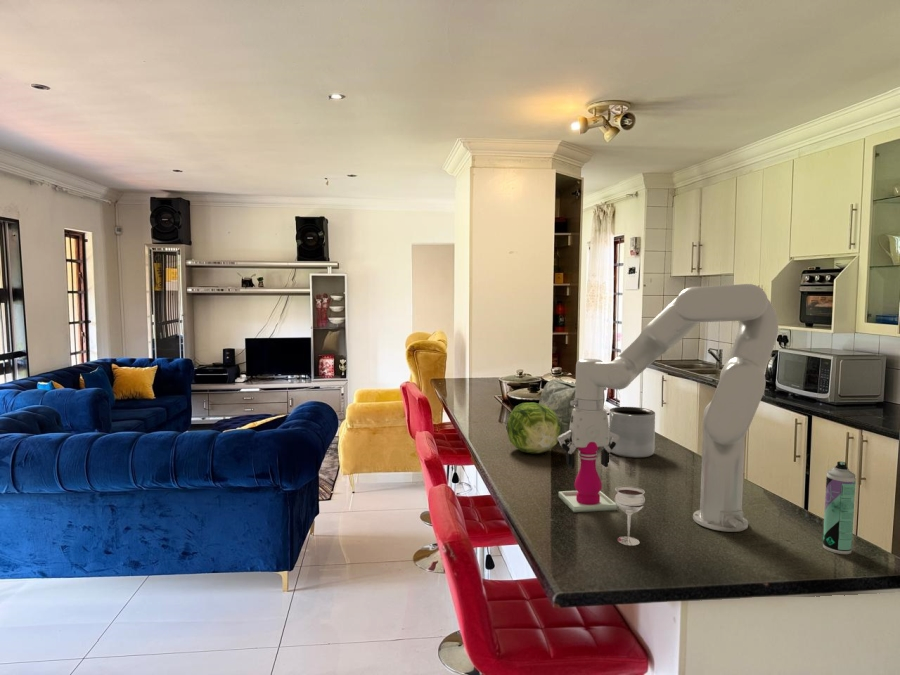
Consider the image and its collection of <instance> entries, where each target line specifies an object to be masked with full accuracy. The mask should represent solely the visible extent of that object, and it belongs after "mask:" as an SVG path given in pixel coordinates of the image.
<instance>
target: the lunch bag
mask: <svg viewBox="0 0 900 675" xmlns="http://www.w3.org/2000/svg"><path fill="white" fill-rule="evenodd" d="M575 388H576V383H573V382H567V381H563V380H561V379H558V378H555V379H553V378H552V379H550V380H549V381H547V382H546V384H544V386H543V389H542V392H541V394H540V398H539V402H538V404H542V405H545V406H547V407H548V408H550V409H551V410H553V411H554V412H555V414H556V416H557V417H558V419H559V422H560V424H561V435H562V434H564V433H565V432H567V431H569V428H570V420H571V415H572V411H573V409H575V407H574V406H571V405H570V401H573V400H574V399H575ZM565 441H569V438H567V439H565Z"/></svg>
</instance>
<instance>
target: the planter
mask: <svg viewBox="0 0 900 675" xmlns="http://www.w3.org/2000/svg"><path fill="white" fill-rule="evenodd" d="M608 414H609V415H608V416H609V418H608V424H609V431H611V432H613V433H614V434H616V435H618V436H619V439H618V441H617V443H616V446H615V447H614V448H613V449H612V450H611V452H610V453H611V454H614V455H616V456H618V457H619V456H620V457H625V458H632V459H641V458H642V459H643V458H648V457H651V456H653V455H654V454H655V447H656V446H655V445H656V444H655V440H656V439H655V434H656V433H655V432H656V430H655V429H656V427H655V426H656V412H655V411H654V410H652V409H650V408H649V409H648V408H644V407H637V406H636V407H635V406H616V407H611V408H610V409H609V413H608ZM611 439H612V437H611V436H609V442H610V441H611Z"/></svg>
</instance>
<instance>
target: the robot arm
mask: <svg viewBox="0 0 900 675" xmlns="http://www.w3.org/2000/svg"><path fill="white" fill-rule="evenodd" d="M717 322H719V323H720V322H738V331H737V334H736V336H735V339H734V342H733V345H732V347H731V349H730V353H729V354H728V357H727V360H726V362H725V364H724V365H723V367H722V369H721V371H720V375H719V380H718V384H717V385H716V388H715V391H714V394H713V395H712V399H711V401H710V402H709V403H708V404H707V405H706V406H705V408H704V410H703V413H702V414H703V415H702V427H703V428H702V449H701V450H702V452H701V473H700V474H701V475H700V497H699V498H700V503H699V505H700V506H699V509H698V510H696V511H694V512H693V513H692V514H693V515H692V519H693V521H694V522H695V523H697V524H698V525H700V526H701V527H704V528H707V529H711V530H713V531H719V532H720V531H721V532H727V533H729V532H731V533H733V532H734V533H738V532H742V531H745V530H747V529H748V527H749V521H748V520H747V518H746V517H744V511H743V492H744V491H743V485H744V466H745V439H746V438H745V436H746V434H747V433H748V431H749V428H750V426H751V424H752V422H753V420H754V418H755V414H756V413H757V410H758V407H759V405H760V403H761V400H762V398H763V395H764V393H765V389H766V376H765V371H766V369H767V366H768V363H769V361H770V359H771V356H772V353H773V350H774V347H775V345H776V341H777V338H778V332H779V320H778V315H777V311H776V309H775V308H774V305H773V304H772V303H771V301H770V300H769V298H768V296H767V293H766V292H765V291H764V290H763V289H762V288H761V287H759V285H755V284H752V283H741V284H740V283H739V284H730V285H729V284H727V285H713V286H712V285H710V286H690V287H686V288H685V289H683V290H682V291H680V292H679V294H678V295H677V297H675V298H674V299H673V300H672V301H671V302H670V303H669V304H668V305H666V307H665V308H664V309H663V310H661V311H660V312H659V313H658V314H657V315H656V316H655V317H654V318H653V319H652V320H651V321H650V322H648V323H647V324H646V325H645V326H644V328H643V329H642V331H641V332H640V334H639V335H638V336H637V337H636V339H635V340H634V341H632V343H631V344H629V345H628V347H627V348H625V350H623V351H622V352H621V353H620V354H619V355H618V356H617V357H616V358H614V359H613V360H612V361H603V360H601V359H597V358H581V359H579V360H577V361H576V364H575V384H576V388H575V399H574V400H573V401H570V405H571V406H574V407H575V409H573V411H572V415H571V420H570V428H569V431H567V432H565V433H564V434H562V435H560V436H558V437H557V439H558V443H559V445H560V447H561V448H562V449H563V450H564V451H565V452H566V458H565V459H566V460H565V461H566V465H567V466H568V467H569V468H570V469H574V468H575V454H574V452H575V451H576V449H578V448H585V447H587V444H588V443H589V442H595V443H596V444H597V447H599V448H601V449H602V450H601V451H600V464H601V466H603V467H605V468H609V463H610V453H612V452H611V450H612V449H613V448H614V447H615V446H616V443H617V441H618V439H619V436H618V435H616V434H614V433H613V432H611V431H609V418H608V416H609V415H608V411H607V409H606V408H605V409H604V406H605V404H604V396H605V388H606V389H612V390H617V391H618V390H619V391H620V390H624V389H626V388H628V386H629V385H630V384H632V382H633V381H634V380H635V379H636V378H637V377H638V376H640V374H642V373H643V372H644V371H645V370H646V369H647V368H648V367H649V366H650V365H651V364H653V363H654V362H655V361H657V359H658V358H660V357H662V356H663V355H664V354H667V353H668V352H669V351H670V350H672V349H673V348H674V347H675V346H677V344H678V343H679V342H680V341H682V340H683V339H684V338H685V337H686V336H687V335H688V334H689V333H691V331H692V330H694V328H696V327H697V326H698V325H699V324H700V323H717ZM609 436H611V437H612V439H611V441H610V442H609ZM567 438H569V443H568V444H566V440H565V439H567Z"/></svg>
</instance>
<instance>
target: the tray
mask: <svg viewBox="0 0 900 675" xmlns="http://www.w3.org/2000/svg"><path fill="white" fill-rule="evenodd" d="M577 493H578V491H577V490H565V491H558V498H559V499H560V500H561V501H562V502H563V503H564V504H565V505H566V506H567V507H568V508H569V509H570V510H571V511H572V512H573V513H583V512H585V513H586V512H588V513H589V512H603V511H617V510H618V506H617V505H616V503H615V501H613V500H612V499H611V498H610V497H608V496H607V495H606V494H605V493H604V492H602V491H601V490H600V491H599V492H598V494H599V495H600V502H599V503H598V504H594V505H586V504H581V503H579V502H577V500H576V494H577Z"/></svg>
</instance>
